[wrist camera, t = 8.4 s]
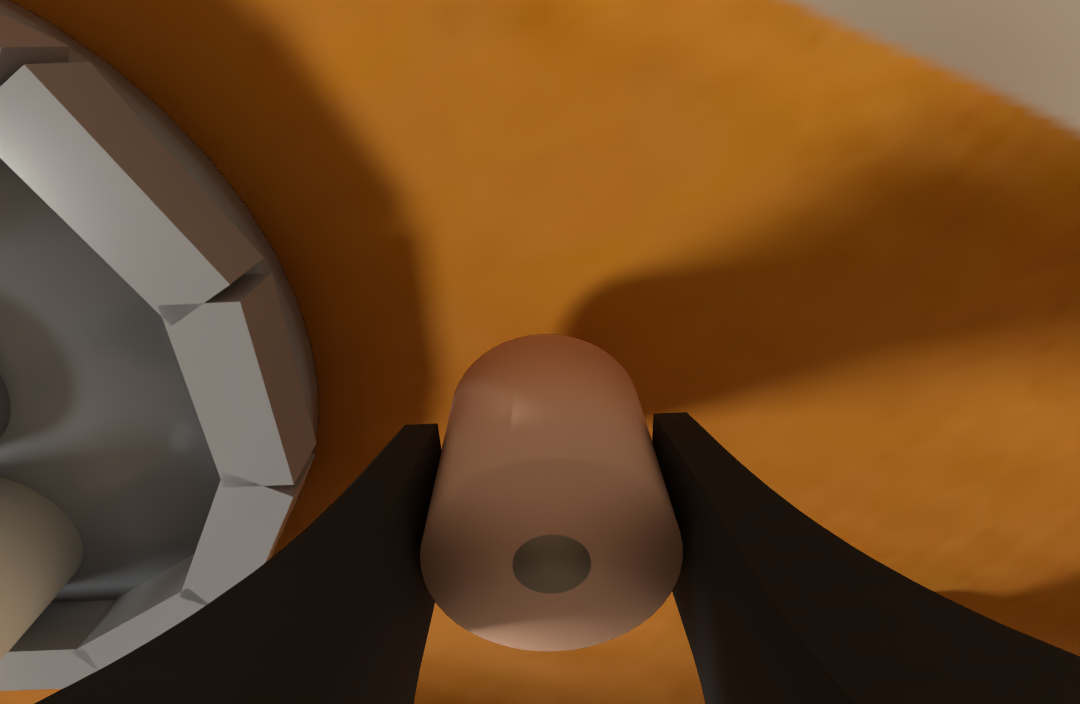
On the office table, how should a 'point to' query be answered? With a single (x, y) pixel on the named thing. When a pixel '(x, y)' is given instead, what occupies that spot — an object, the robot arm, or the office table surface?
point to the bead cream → (31, 557)
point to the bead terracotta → (549, 501)
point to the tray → (136, 356)
